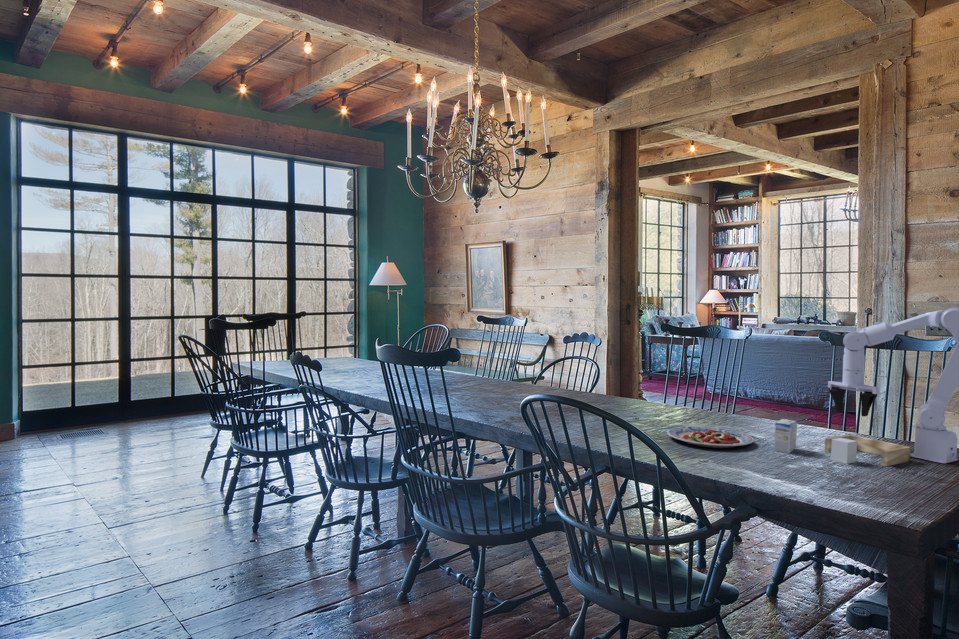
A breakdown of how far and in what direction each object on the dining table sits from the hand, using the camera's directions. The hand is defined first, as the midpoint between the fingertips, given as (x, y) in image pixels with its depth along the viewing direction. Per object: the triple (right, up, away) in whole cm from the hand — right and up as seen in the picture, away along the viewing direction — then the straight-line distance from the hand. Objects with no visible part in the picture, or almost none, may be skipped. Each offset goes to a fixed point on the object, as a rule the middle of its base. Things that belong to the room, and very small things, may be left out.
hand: (851, 413), depth 188 cm
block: (-12, -11, -16) cm, 23 cm away
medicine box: (-23, -11, -4) cm, 25 cm away
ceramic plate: (-42, -10, +6) cm, 44 cm away
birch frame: (-2, -11, -10) cm, 15 cm away
